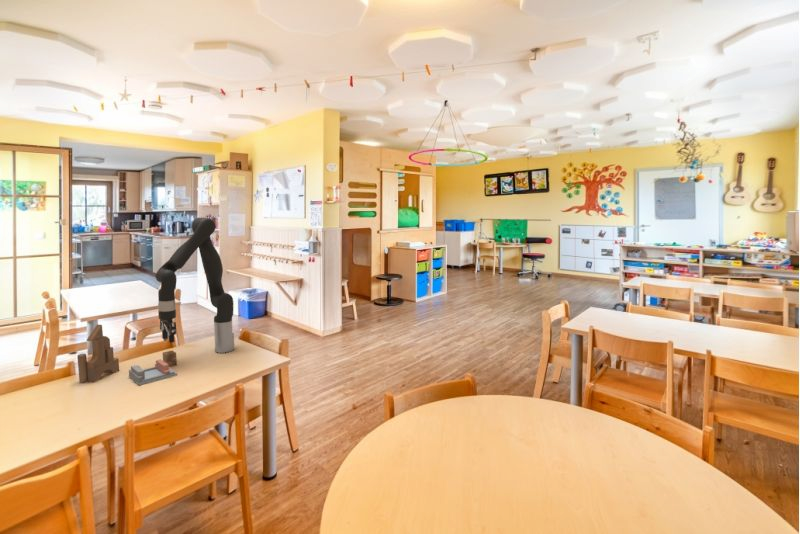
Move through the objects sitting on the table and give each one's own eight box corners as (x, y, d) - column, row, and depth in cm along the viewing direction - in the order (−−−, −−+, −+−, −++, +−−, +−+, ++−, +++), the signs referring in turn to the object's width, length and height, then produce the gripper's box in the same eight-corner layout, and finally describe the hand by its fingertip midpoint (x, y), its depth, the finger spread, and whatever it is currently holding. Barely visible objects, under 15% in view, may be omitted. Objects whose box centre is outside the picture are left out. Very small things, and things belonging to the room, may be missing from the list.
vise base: (166, 367, 197) (165, 356, 196) (177, 375, 188) (176, 364, 188) (128, 376, 185) (128, 365, 184) (139, 385, 176) (138, 373, 175)
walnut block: (172, 362, 204) (172, 350, 203) (176, 365, 201) (176, 352, 200) (163, 364, 200) (162, 352, 199) (167, 367, 197) (166, 355, 196)
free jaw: (159, 366, 195) (159, 358, 194) (170, 374, 186) (169, 365, 186) (155, 367, 193) (154, 359, 192) (165, 375, 185) (165, 366, 184)
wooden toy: (107, 369, 193) (103, 319, 189) (119, 370, 192) (116, 320, 188) (77, 382, 177) (72, 329, 174) (90, 384, 176) (86, 330, 173)
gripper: (181, 310, 195) (182, 342, 197) (169, 305, 204) (170, 335, 206) (164, 312, 189) (165, 345, 191) (153, 307, 198) (154, 338, 200)
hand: (168, 340), depth 199 cm, fingers open, 8 cm apart
